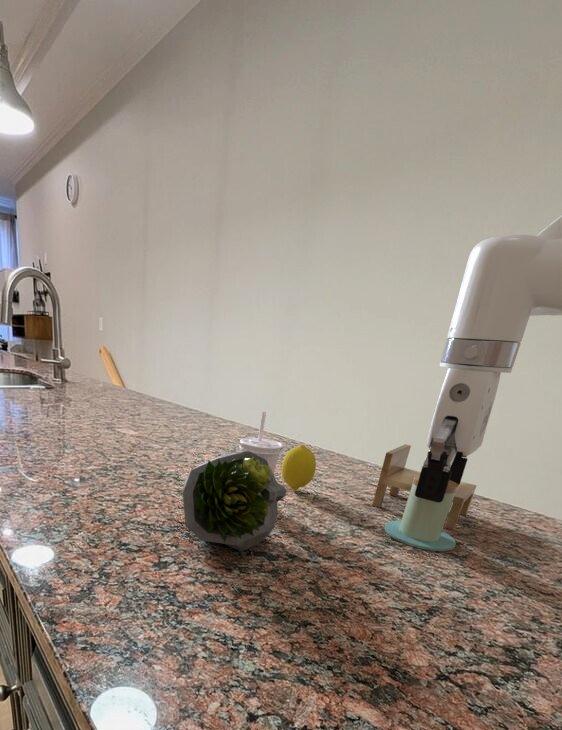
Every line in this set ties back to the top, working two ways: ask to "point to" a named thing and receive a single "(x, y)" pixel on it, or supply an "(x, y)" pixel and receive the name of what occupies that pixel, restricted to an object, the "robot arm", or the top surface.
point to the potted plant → (232, 500)
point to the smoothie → (263, 446)
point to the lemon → (298, 467)
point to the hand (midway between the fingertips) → (437, 490)
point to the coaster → (441, 545)
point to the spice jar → (426, 514)
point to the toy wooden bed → (403, 478)
